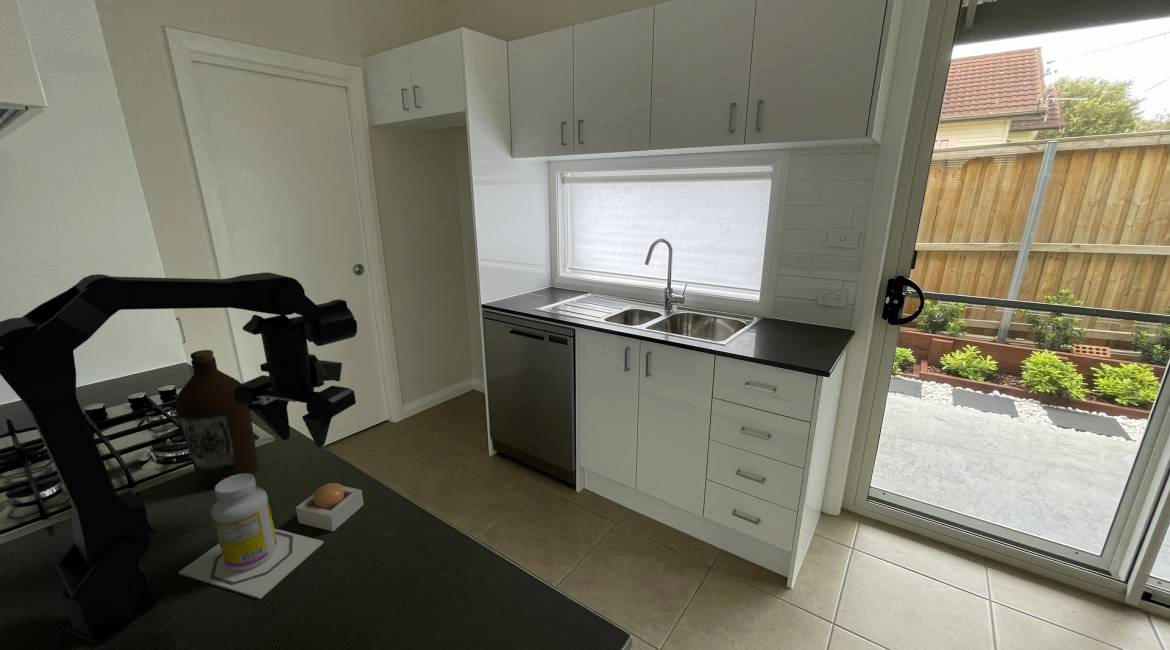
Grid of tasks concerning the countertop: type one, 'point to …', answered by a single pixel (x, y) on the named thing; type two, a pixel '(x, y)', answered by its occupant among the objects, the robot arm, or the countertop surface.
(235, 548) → the supplement bottle
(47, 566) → the countertop surface
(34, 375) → the robot arm
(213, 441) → the olive oil
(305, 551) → the paper sheet
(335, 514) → the button housing
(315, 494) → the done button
